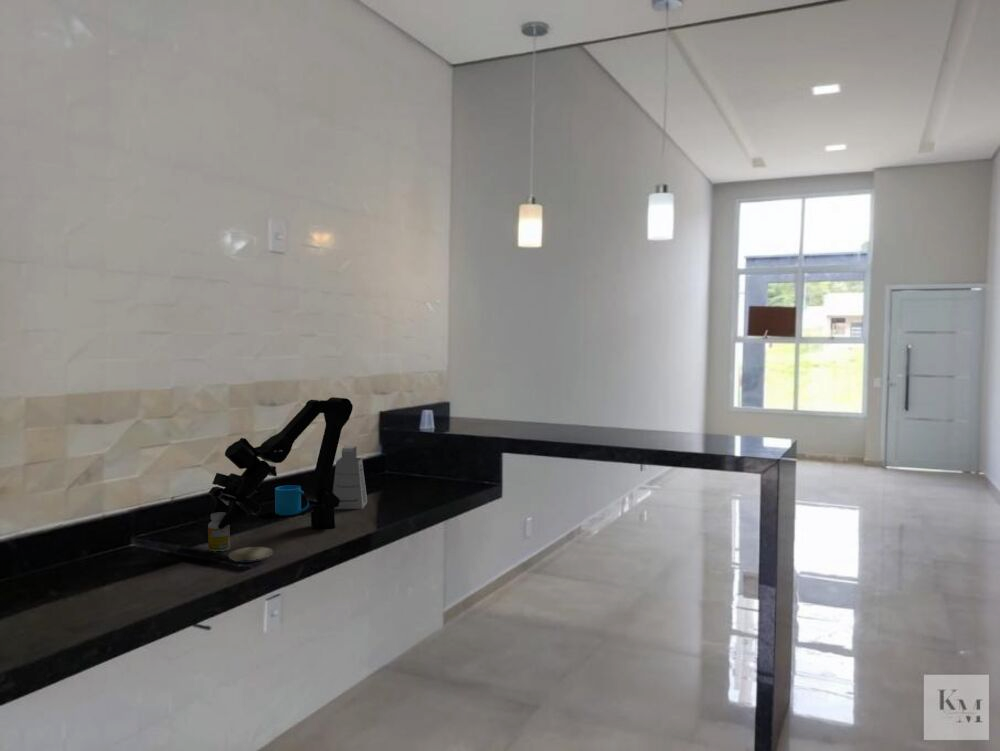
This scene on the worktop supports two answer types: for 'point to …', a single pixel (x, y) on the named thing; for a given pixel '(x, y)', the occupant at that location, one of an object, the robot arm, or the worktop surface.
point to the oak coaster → (250, 553)
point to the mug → (288, 500)
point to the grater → (350, 480)
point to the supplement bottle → (218, 533)
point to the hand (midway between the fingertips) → (213, 526)
